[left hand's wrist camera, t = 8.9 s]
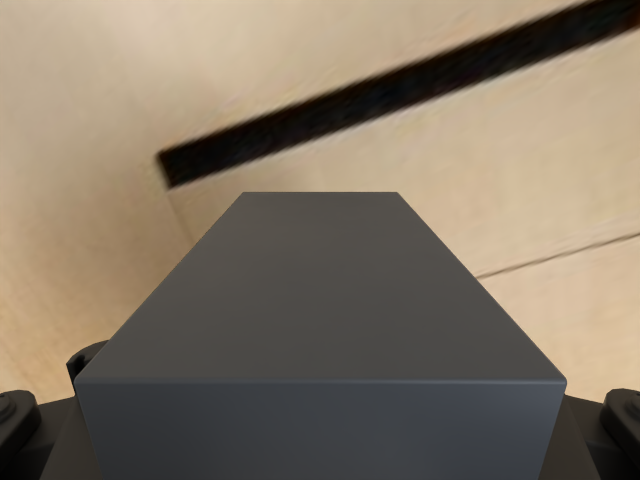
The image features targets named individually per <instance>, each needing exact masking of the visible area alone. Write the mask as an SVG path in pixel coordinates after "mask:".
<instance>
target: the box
mask: <svg viewBox="0 0 640 480" xmlns="http://www.w3.org/2000/svg"><path fill="white" fill-rule="evenodd" d="M74 386H75V389H76V393H77V396H78V399H79V402H80V406H81V409H82V412H83V415H84V419H85V422H86V425H87V429H88V432H89V435H90V438H91V442H92V445H93V448H94V452H95V455H96V458H97V461H98V465H99V468H100V471H101V475H102V478H103V480H538V478H539V474H540V471H541V468H542V464H543V461H544V458H545V455H546V451H547V448H548V445H549V441H550V438H551V435H552V432H553V428H554V425H555V422H556V419H557V415H558V412H559V409H560V405H561V402H562V399H563V396H564V392H565V389H566V386H567V380H566V378H565V377H564V375H563V374H562V373H561V372H560V371H559V370H558V369H557V368H556V367H555V366H554V364H553V363H552V362H551V361H550V360H549V359H548V358H547V357H546V356H545V355H544V353H543V352H542V351H541V350H540V349H539V348H538V347H537V346H536V345H535V343H534V342H533V341H532V340H531V339H530V338H529V337H528V336H527V335H526V334H525V332H524V331H523V330H522V329H521V328H520V327H519V326H518V325H517V324H516V323H515V321H514V320H513V319H512V318H511V317H510V316H509V315H508V314H507V313H506V311H505V310H504V309H503V308H502V307H501V306H500V305H499V304H498V303H497V302H496V300H495V299H494V298H493V297H492V296H491V295H490V294H489V293H488V292H487V291H486V289H485V288H484V287H483V286H482V285H481V284H480V283H479V282H478V281H477V279H476V278H475V277H474V276H473V275H472V274H471V273H470V272H469V271H468V270H467V268H466V267H465V266H464V265H463V264H462V263H461V262H460V261H459V260H458V259H457V257H456V256H455V255H454V254H453V253H452V252H451V251H450V250H449V249H448V247H447V246H446V245H445V244H444V243H443V242H442V241H441V240H440V239H439V238H438V236H437V235H436V234H435V233H434V232H433V231H432V230H431V229H430V228H429V227H428V225H427V224H426V223H425V222H424V221H423V220H422V219H421V218H420V217H419V215H418V214H417V213H416V212H415V211H414V210H413V209H412V208H411V207H410V206H409V204H408V203H407V202H406V201H405V200H404V199H403V198H402V197H401V196H400V195H399V193H398V192H243V193H242V194H241V195H240V196H239V197H238V198H237V200H236V201H235V202H234V203H233V204H232V205H231V206H230V207H229V208H228V210H227V211H226V212H225V213H224V214H223V215H222V216H221V217H220V218H219V219H218V221H217V222H216V223H215V224H214V225H213V226H212V227H211V228H210V229H209V231H208V232H207V233H206V234H205V235H204V236H203V237H202V238H201V239H200V240H199V242H198V243H197V244H196V245H195V246H194V247H193V248H192V249H191V250H190V252H189V253H188V254H187V255H186V256H185V257H184V258H183V259H182V260H181V261H180V263H179V264H178V265H177V266H176V267H175V268H174V269H173V270H172V271H171V273H170V274H169V275H168V276H167V277H166V278H165V279H164V280H163V281H162V282H161V284H160V285H159V286H158V287H157V288H156V289H155V290H154V291H153V292H152V294H151V295H150V296H149V297H148V298H147V299H146V300H145V301H144V302H143V303H142V305H141V306H140V307H139V308H138V309H137V310H136V311H135V312H134V313H133V315H132V316H131V317H130V318H129V319H128V320H127V321H126V322H125V323H124V324H123V326H122V327H121V328H120V329H119V330H118V331H117V332H116V333H115V334H114V336H113V337H112V338H111V339H110V340H109V341H108V342H107V343H106V344H105V346H104V347H103V348H102V349H101V350H100V351H99V352H98V353H97V354H96V355H95V357H94V358H93V359H92V360H91V361H90V362H89V363H88V364H87V365H86V367H85V368H84V369H83V370H82V371H81V372H80V373H79V374H78V375H77V376H76V378H75V380H74Z"/></svg>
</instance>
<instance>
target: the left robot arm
mask: <svg viewBox="0 0 640 480" xmlns="http://www.w3.org/2000/svg"><path fill="white" fill-rule="evenodd" d="M108 341H109V340H106V341H102V342H98V343H95V344H92V345H90V346H88V347H86V348H84V349H82V350H80V351H79V352H77V353H76V354H75V355H73V356H72V357H71V358H70V360H69V361H68V362H67V363H66V366H67V369H68V372H69V375H70V379H71V382H72V385H73V388H74V392H75V396H74V397H70V398H67V399H62V400H58V401H53V402H49V403H45V404H40V405H37V402H36V399H35V396H34V395H33V394H32V393H31V392H29V391H25V390H14V391H8V392H4V393H1V394H0V480H103V478H102V475H101V471H100V468H99V465H98V461H97V458H96V455H95V452H94V448H93V445H92V442H91V438H90V435H89V432H88V429H87V425H86V422H85V419H84V415H83V412H82V409H81V406H80V402H79V399H78V396H77V393H76V389H75V386H74V380H75V378H76V376H77V375H78V374H79V373H80V372H81V371H82V370H83V369H84V368H85V367H86V365H87V364H88V363H89V362H90V361H91V360H92V359H93V358H94V357H95V355H96V354H97V353H98V352H99V351H100V350H101V349H102V348H103V347H104V346H105V344H106V343H107V342H108ZM538 480H640V392H639V391H635V390H629V389H624V388H622V389H612V390H611V391H610V392H608V393H607V394H606V397H605V400H604V403H603V404H602V403H598V402H594V401H589V400H585V399H580V398H576V397H572V396H568V395H565V393H564V396H563V399H562V402H561V405H560V409H559V412H558V415H557V419H556V422H555V425H554V428H553V432H552V435H551V438H550V441H549V445H548V448H547V451H546V455H545V458H544V461H543V464H542V468H541V471H540V474H539V478H538Z"/></svg>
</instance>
